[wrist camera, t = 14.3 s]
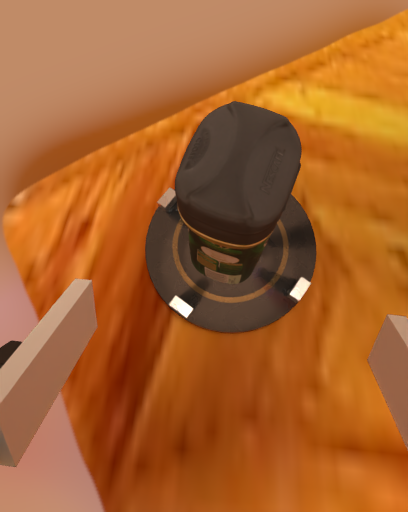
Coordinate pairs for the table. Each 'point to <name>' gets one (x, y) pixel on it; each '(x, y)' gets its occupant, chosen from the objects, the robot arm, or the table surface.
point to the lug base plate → (222, 294)
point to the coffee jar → (236, 187)
